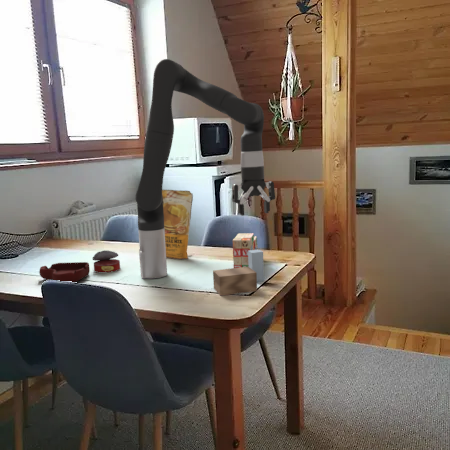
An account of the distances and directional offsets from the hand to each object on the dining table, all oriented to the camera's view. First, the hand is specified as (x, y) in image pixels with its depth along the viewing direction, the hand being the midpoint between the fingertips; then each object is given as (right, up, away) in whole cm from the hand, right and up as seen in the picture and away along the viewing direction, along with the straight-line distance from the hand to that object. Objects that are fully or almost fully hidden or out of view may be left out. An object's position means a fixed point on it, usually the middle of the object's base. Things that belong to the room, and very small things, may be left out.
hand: (254, 214), depth 164 cm
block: (+1, -22, +3) cm, 23 cm away
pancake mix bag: (-31, -17, +43) cm, 56 cm away
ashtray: (-66, -24, +14) cm, 72 cm away
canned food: (-55, -21, +26) cm, 65 cm away
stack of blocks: (-2, -19, +23) cm, 30 cm away
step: (-7, -24, -7) cm, 26 cm away
